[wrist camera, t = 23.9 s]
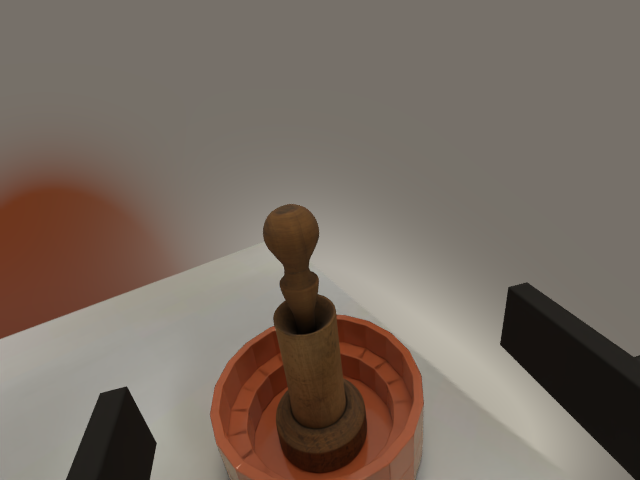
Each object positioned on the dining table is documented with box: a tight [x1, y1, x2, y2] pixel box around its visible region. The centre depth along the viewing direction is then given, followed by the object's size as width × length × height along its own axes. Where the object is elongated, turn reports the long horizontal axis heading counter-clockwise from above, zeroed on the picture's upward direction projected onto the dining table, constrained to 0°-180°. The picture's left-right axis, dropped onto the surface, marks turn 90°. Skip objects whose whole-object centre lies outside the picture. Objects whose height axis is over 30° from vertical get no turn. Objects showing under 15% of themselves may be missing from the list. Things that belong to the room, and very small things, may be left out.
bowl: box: [210, 315, 424, 480], centre depth 26 cm, size 14×14×6 cm
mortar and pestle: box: [263, 204, 367, 473], centre depth 23 cm, size 7×6×18 cm
